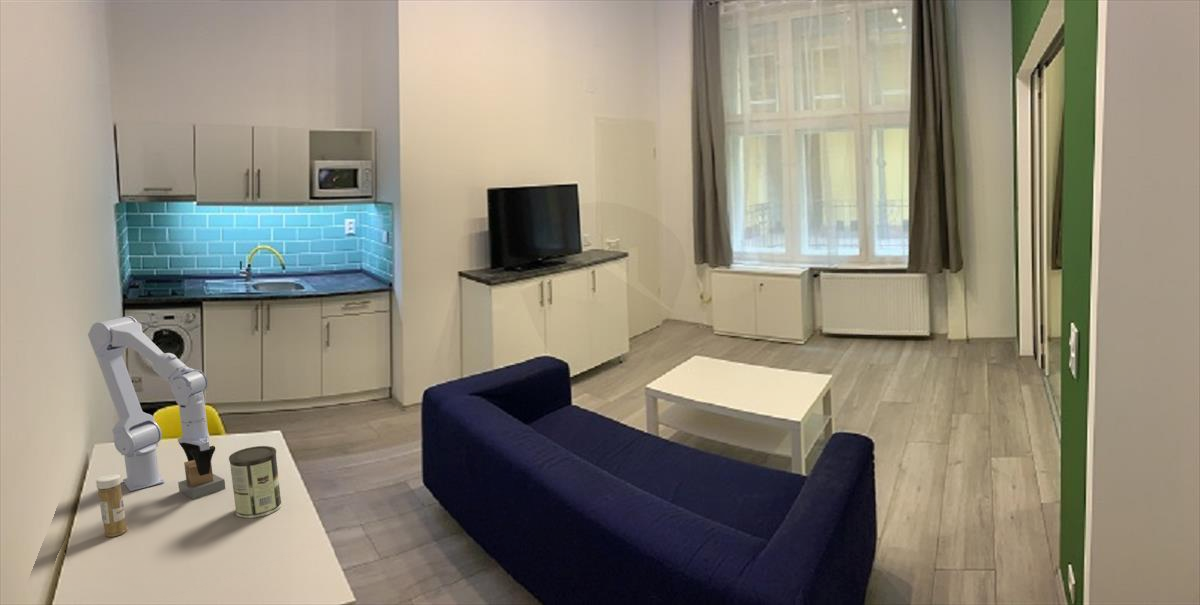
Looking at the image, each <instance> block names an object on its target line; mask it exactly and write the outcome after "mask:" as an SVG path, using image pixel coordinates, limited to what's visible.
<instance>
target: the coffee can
mask: <svg viewBox="0 0 1200 605" xmlns="http://www.w3.org/2000/svg"><path fill="white" fill-rule="evenodd" d="M228 461H229V465H230V473H231V474H230V475H231V482H232V490H233V497H234V506H235V515H236V516H237V517H239V518H242V517H243V519H255V518H256V517H257V518H262V517H264V516H268V515H271V514H273V513H275V512H277V511H278V510H279V509H280V508H282V499H281V498H282V497H281V491H280V490H281V489H280V479H279V472H278V471H279V470H278V463H277V449H276V448H275V447H273V446H268V445H261V446H260V445H259V446H251V447H246V448H242V449H239V450H237V451H235V452H233V453H231V454H230V455H229V457H228Z"/></svg>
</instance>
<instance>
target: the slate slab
mask: <svg viewBox="0 0 1200 605" xmlns="http://www.w3.org/2000/svg"><path fill="white" fill-rule="evenodd" d="M177 484H178V491H179V493H180V494H183V495H185V496H186V497H187V498H190V499H192V500H197V499H200V498H202V497H205V496H208V495H211V494H214V493H217V492H221V491H223V490H225V489H226V481H225V479H224V478H223V477H221V476H219V475H216V474H214V473H213V481H211V482H207V483H203V484H200V485H196V486H191V485H190V484H189V483H188V482H187V481H186V479H185V480H180V481H178V482H177Z"/></svg>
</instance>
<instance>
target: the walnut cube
mask: <svg viewBox="0 0 1200 605" xmlns="http://www.w3.org/2000/svg"><path fill="white" fill-rule="evenodd" d="M183 463H184V464H183V466H184V473H185V480H186V481H187V482H188V483H189V484H190V485H191V486H196V485H200V484H203V483H207V482H211V481H213V474H214V473H213V467H212V466H213V465H212V464H211V465H210V472H209V474H205V475H202V476H200V474H199V472H198V469H197V466H196V462H195V460H192V461H188V460H187V461H185V462H183Z"/></svg>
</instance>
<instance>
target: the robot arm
mask: <svg viewBox="0 0 1200 605" xmlns="http://www.w3.org/2000/svg"><path fill="white" fill-rule="evenodd" d="M87 337H88V340H89V341H90V345H91V348H92V349H93V352H94V356H95V357H96V359H97V363H98V365H99V367H100V371H101V373H102V376H103V379H104V382H105V384H106V386H107V389H108V392H109V394H110V397H111V400H112V403H113V406H114V408H115V411H116V414H117V416H118V421H117V422H116V424H115V425H114V426H113V428H112V429H111V430H112V434H113V439H114V440H113V442H114V446H115V450H117V452H119V453H120V454H121V455H122V456H124V457H123V458H124V464H125V466H124V467H125V471H126V478H124V479H123V480H122V481H123V483H124V484H125V486H126V487H127V489H128V491H129V492H132V491H133V492H134V491H137V490H140V489H144V488H147V487H148V488H149V487H152V486H156V485H160V484H163V483H165V480H164V478H163V477H162V476H161V474H160V469H159V461H158V453H157V448H158V447H159V443H160V441H161V440H162V438H163V437H162V436H163V433H162V428H161V427H160V425H159V424H157V421H156V420H155V417H154V416H153V415H152V414H150V413H146V412H144V411H143V409H142V407H141V404H140V401H139V398H138V396H137V393H136V390H135V386H134V385H133V384H134V383H133V381H132V379H131V376H130V373H129V371H128V369H127V365H126V362H125V360H124V357H123V355H124V352H125V350H126V349H127V348H128V347H129V348H131V349H132V350H133V351H135V352H136V353H138V354H139V355H141V356H142V357H144V358H145V359H146V360H148V361H149V362H150V363H152V365H151V366H152V370H153V371H154V372H155V373H156V374H157V375H158V376H159V377H161V378H162V379H163V380H164V381H166V383H168V384H169V385H170V391H171V393H172V395H173V396H174V397H175V402H176V404H177V405H178V408H179V416H180V425H181V426H180V427H181V434H182V437H180V438H177V442H178V444H179V445H180V446H181V447H180V448H182V450H183V451H184V454H185V455H186V459H187V462H188V461H192V460H195V462H196V466H197V469H198V472H199V474H200V476H202V475H205V474H209V472H210V465H212V458H213V455H214V453H215V451H216V446H215V445H211V446H210V441H209V440H210V433H209V429H208V421H207V420H208V419H207V412H206V404H205V396H204V392H205V391H206V390H207V388H208V386H209V382H208V378H207V376H206V374H205V373H204V372H203V371H202V370H200V369H194V368H193V367H192V368H191V367H189V366H187V365H186V364H185V363H184V362H183V361H181V360H180V359H179V357H177V355H175V354H174V353H171V352H163V351H162V350H161V349H160V347H158V346H157V345H156V343H154V342H153V341H152V340H151V339H150V338H149V337H148V336H147V335H146V334H145V333H144V332H143V327H142V323H140V322H139V321H138V320H137V319H136V318H135V317H134V316H130V315H125V316H123V317H120V318H116V319H110V320H105V321H98V322H95V323H93V324H92V325H91V327H90V329H89V332H88V334H87ZM133 426H134V427H133Z"/></svg>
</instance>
